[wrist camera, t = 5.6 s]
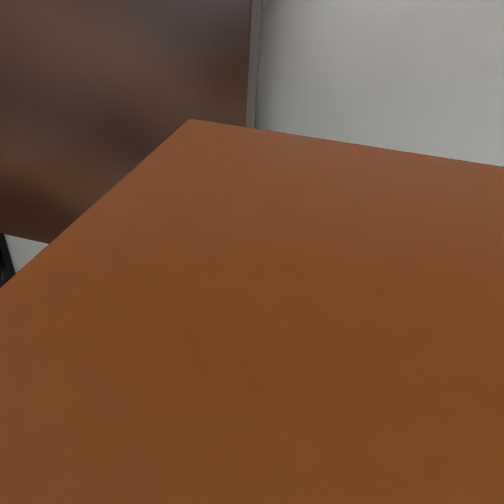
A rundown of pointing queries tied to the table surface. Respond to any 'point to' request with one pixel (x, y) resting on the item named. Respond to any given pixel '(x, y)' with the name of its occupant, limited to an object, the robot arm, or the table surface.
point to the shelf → (110, 94)
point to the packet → (263, 331)
